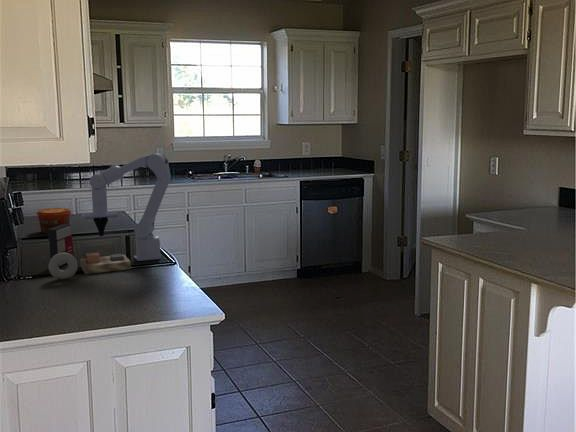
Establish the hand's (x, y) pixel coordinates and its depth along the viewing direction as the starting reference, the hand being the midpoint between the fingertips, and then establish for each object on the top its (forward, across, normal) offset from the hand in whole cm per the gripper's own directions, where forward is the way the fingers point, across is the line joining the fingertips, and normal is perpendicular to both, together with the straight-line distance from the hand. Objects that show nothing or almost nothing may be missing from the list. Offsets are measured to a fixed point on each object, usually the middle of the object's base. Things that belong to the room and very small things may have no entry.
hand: (101, 235), depth 250 cm
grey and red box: (+10, -16, -3) cm, 19 cm away
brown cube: (+7, -6, -16) cm, 19 cm away
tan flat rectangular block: (+9, -2, -16) cm, 19 cm away
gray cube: (+9, +3, -16) cm, 19 cm away
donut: (+10, -18, -26) cm, 33 cm away
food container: (+10, -12, +63) cm, 65 cm away
